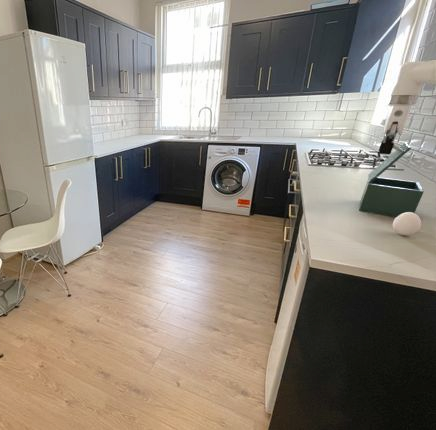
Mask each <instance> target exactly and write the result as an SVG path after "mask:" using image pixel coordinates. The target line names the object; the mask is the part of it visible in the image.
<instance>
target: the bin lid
mask: <svg viewBox="0 0 436 430" xmlns="http://www.w3.org/2000/svg"><path fill="white" fill-rule="evenodd" d="M392 149H394V150H395V151H394V152H393V153H391V154H390V155H389V156H388V157H387V158H386V159H385V160H383V161H382V162H381V163H380V164H379V165H378V166H377V167H375V168H374V169H373V170H372V171H371V172H369V173H368V177H367V181H368V183H371V182H372V181H373V180H375V179H376V178H377V177H379V176H381V175H383V173H385V172H386V171H387V170H388V169H389V168H390V167H391V166H392V165H394V164H395V163H396V162H397V161H398V160H399V159H401V158H402V157H403V156H405V155H406V154H407V153H408V152H410V150H412V148H411V146H410V145H409V143H408V142H404V143H403V144H402V145H400V146H398V145H396V144H395V143H394V145H393V148H392Z"/></svg>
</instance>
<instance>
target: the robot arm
mask: <svg viewBox="0 0 436 430" xmlns="http://www.w3.org/2000/svg"><path fill="white" fill-rule="evenodd" d="M424 84H428V85H429V84H431V85H436V59H431V60H427V61H426V60H417V61H408V62H404V63H402V64H400V65H399V67H398V69H397V72H396V75H395V78H394V81H393V83H392V86H391V90H390V93H389V96H388V99H387V102H386V107H389V110H388V113H387V115H386V118H385V122H384V127H383V135H384V136H383V138H382V140H381V143H380V146H379V148H378V154H379V155H392V150H393V149H394V148H393V145H394V144H395V140H396V137H397V135H398V136H402V135H403V133H404V130H405V126H406V124H407V121H408V117H409V115H410V111H411V107H414V106H416V105H417V103H418V99H419V97H420V94H421V91H422V88H423V86H424Z"/></svg>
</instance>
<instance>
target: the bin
mask: <svg viewBox="0 0 436 430" xmlns="http://www.w3.org/2000/svg"><path fill="white" fill-rule="evenodd" d="M423 195H424V189H423V187H422V186H421V184H420V182H419V181H418V182H417V181H411V180H403V179H395V178H387V177H379V176H378V177H377V178H376V179H375V180H373V181H372V182H371V183H368V180H367V181H366V183H365V186H364V189H363V193H362V195H361V198H360V201H359V208H358V211H359V212H364V213H370V214H375V215H381V216H385V217H392V218H396V217H398V216H399V215H401V214H402V213H406V212H412V213H415V214H416V211H417V209H418V206H419V204H420V202H421V199H422V196H423Z"/></svg>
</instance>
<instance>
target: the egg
mask: <svg viewBox="0 0 436 430" xmlns="http://www.w3.org/2000/svg"><path fill="white" fill-rule="evenodd" d="M421 226H422V220H421V218H420V216H419V215H418V214H416V212H415V213H412V212H406V213H402V214H401V215H399V216H398V217H395V218H394V219H393V222H392V228H393V230H394V232H395V233H397V234H398V235H401V236H411V235H414V234H416V233H418V232H419V230H420V229H421Z"/></svg>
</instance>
